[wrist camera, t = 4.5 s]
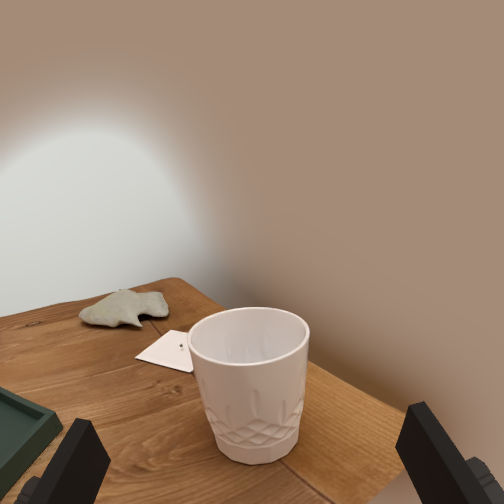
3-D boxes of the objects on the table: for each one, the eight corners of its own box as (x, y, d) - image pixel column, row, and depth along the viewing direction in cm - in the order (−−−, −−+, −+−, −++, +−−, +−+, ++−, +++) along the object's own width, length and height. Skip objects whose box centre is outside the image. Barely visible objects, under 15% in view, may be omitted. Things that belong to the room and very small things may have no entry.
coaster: (170, 330, 41) (169, 325, 41) (222, 338, 38) (221, 333, 38) (134, 357, 34) (133, 352, 34) (190, 372, 31) (189, 366, 31)
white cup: (315, 412, 24) (319, 311, 22) (290, 481, 17) (291, 374, 15) (232, 398, 27) (220, 302, 25) (190, 455, 20) (162, 350, 17)
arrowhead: (162, 291, 54) (84, 306, 49) (159, 274, 53) (79, 289, 48) (175, 328, 44) (79, 347, 38) (171, 308, 42) (71, 327, 37)
